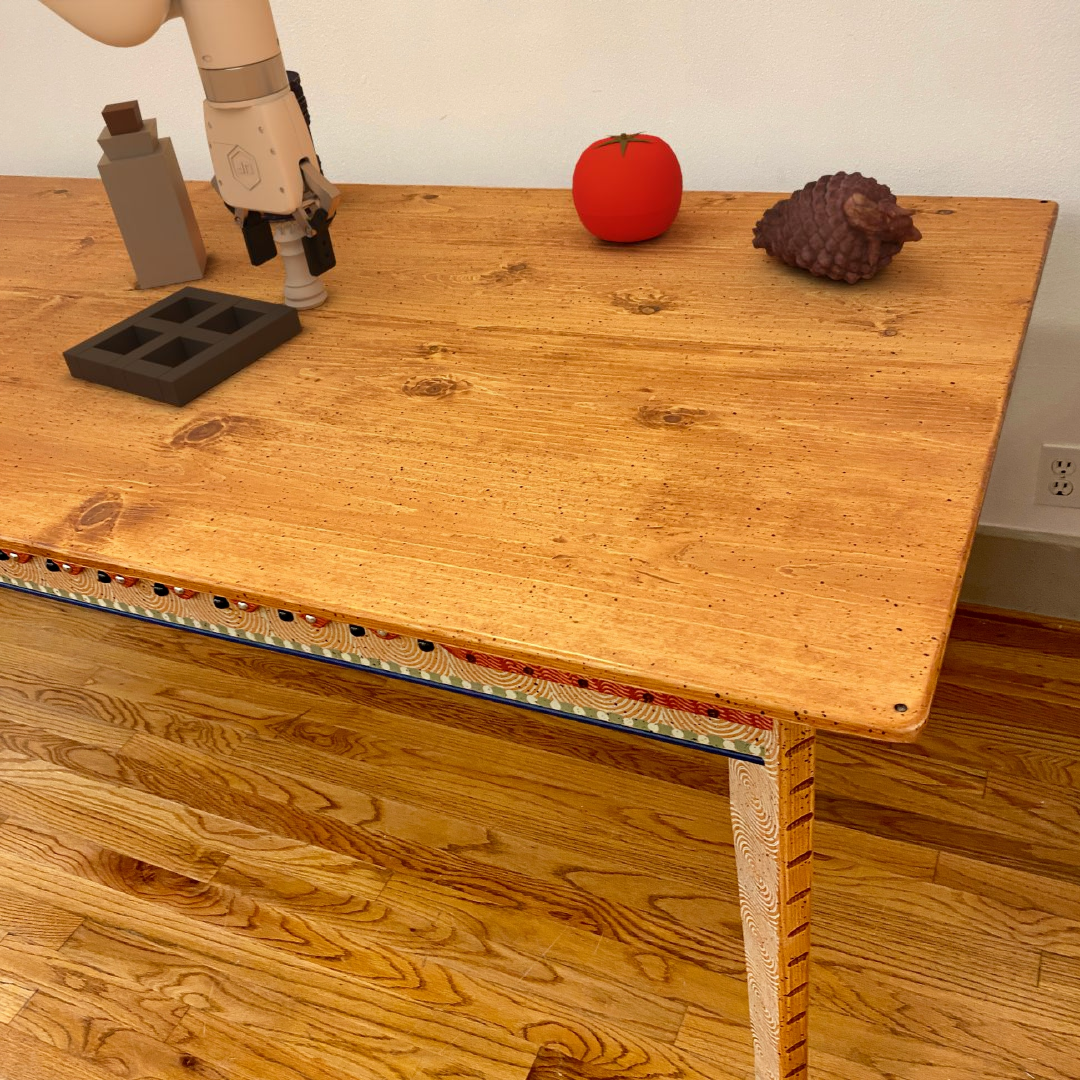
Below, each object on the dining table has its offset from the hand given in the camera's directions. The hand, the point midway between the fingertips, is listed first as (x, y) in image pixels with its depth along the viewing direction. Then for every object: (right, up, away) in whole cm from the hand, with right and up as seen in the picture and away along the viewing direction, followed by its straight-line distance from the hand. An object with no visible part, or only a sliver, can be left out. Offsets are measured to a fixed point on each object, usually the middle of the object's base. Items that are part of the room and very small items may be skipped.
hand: (293, 264), depth 108 cm
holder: (-9, -10, -4) cm, 14 cm away
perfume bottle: (-16, +2, +14) cm, 21 cm away
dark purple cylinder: (-6, +14, +27) cm, 31 cm away
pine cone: (+52, -2, -7) cm, 52 cm away
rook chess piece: (+1, -3, +2) cm, 4 cm away
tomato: (+34, +4, +6) cm, 35 cm away
